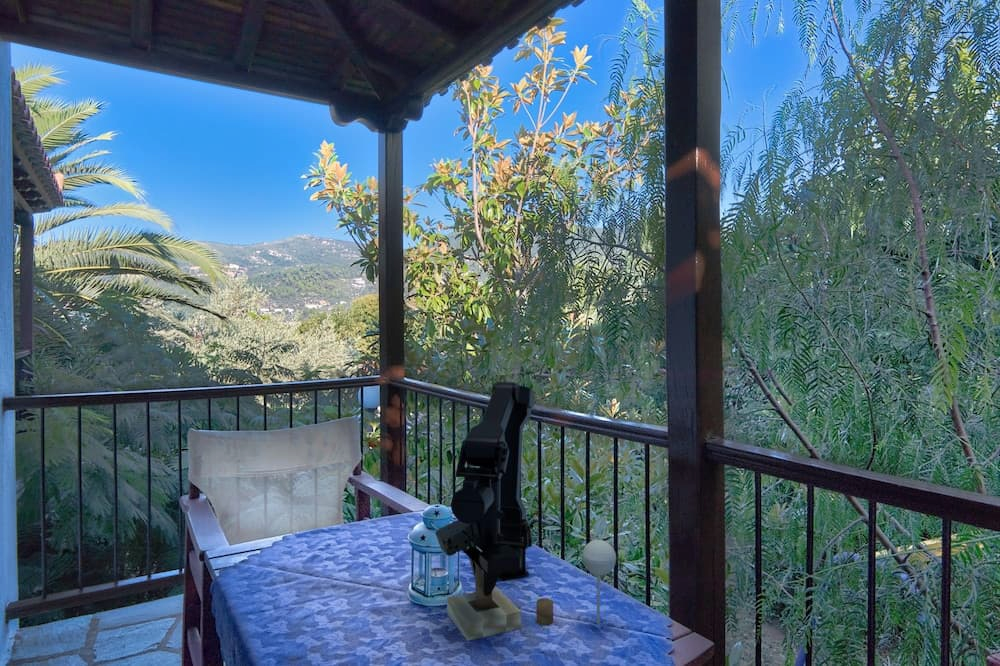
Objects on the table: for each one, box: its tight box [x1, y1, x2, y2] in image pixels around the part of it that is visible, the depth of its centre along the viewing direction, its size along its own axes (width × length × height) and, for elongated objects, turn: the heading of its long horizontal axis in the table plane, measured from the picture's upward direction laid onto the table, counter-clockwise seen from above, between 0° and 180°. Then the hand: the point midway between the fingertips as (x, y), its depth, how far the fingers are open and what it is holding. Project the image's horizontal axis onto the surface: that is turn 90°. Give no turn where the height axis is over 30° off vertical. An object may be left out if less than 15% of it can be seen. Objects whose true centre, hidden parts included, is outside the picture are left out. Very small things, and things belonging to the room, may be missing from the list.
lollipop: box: [581, 539, 617, 626], centre depth 108 cm, size 6×6×15 cm
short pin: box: [535, 597, 554, 626], centre depth 109 cm, size 3×3×4 cm
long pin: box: [474, 558, 492, 609], centre depth 109 cm, size 3×3×8 cm
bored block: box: [446, 587, 522, 642], centre depth 109 cm, size 10×10×3 cm
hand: (483, 591), depth 109 cm, fingers closed on long pin, 3 cm apart
